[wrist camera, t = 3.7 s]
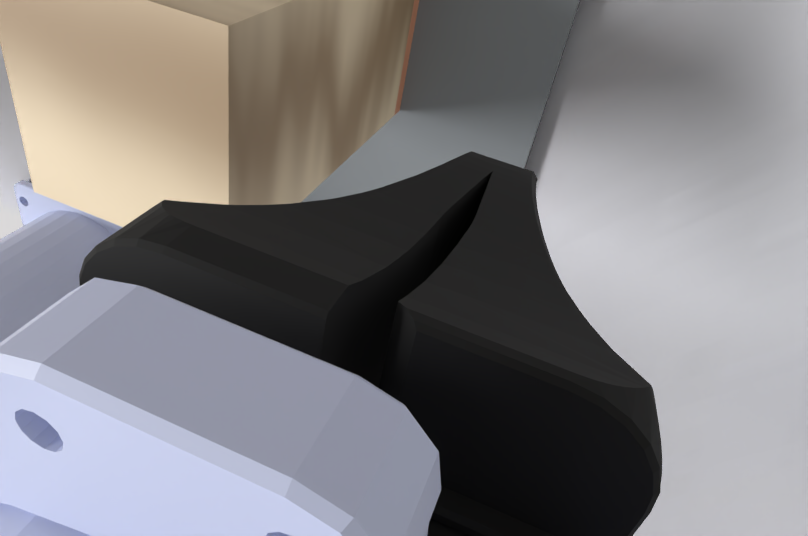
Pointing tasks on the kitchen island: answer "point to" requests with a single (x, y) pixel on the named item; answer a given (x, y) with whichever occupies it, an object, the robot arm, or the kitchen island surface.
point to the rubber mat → (464, 90)
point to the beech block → (199, 96)
